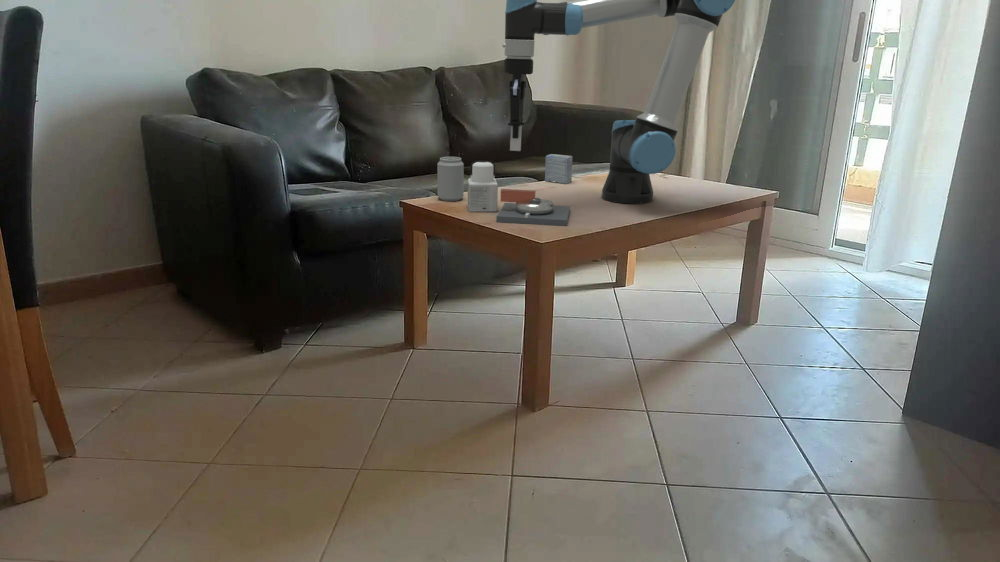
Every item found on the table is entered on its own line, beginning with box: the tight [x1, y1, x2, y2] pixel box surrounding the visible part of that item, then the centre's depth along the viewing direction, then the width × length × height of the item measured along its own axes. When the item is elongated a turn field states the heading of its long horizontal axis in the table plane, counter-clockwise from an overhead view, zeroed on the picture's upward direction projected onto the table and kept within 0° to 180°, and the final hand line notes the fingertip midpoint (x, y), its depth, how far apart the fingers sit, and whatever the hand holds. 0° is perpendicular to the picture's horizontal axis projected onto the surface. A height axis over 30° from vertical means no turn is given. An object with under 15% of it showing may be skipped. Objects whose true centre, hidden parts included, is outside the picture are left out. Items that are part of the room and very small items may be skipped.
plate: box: [495, 202, 571, 227], centre depth 191 cm, size 18×16×2 cm
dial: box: [500, 188, 555, 214], centre depth 190 cm, size 14×10×5 cm
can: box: [436, 156, 465, 202], centre depth 208 cm, size 8×8×12 cm
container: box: [467, 160, 499, 213], centre depth 197 cm, size 8×8×13 cm
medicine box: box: [544, 153, 573, 185], centre depth 236 cm, size 8×4×9 cm, turn 59°
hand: (515, 150), depth 192 cm, fingers closed
